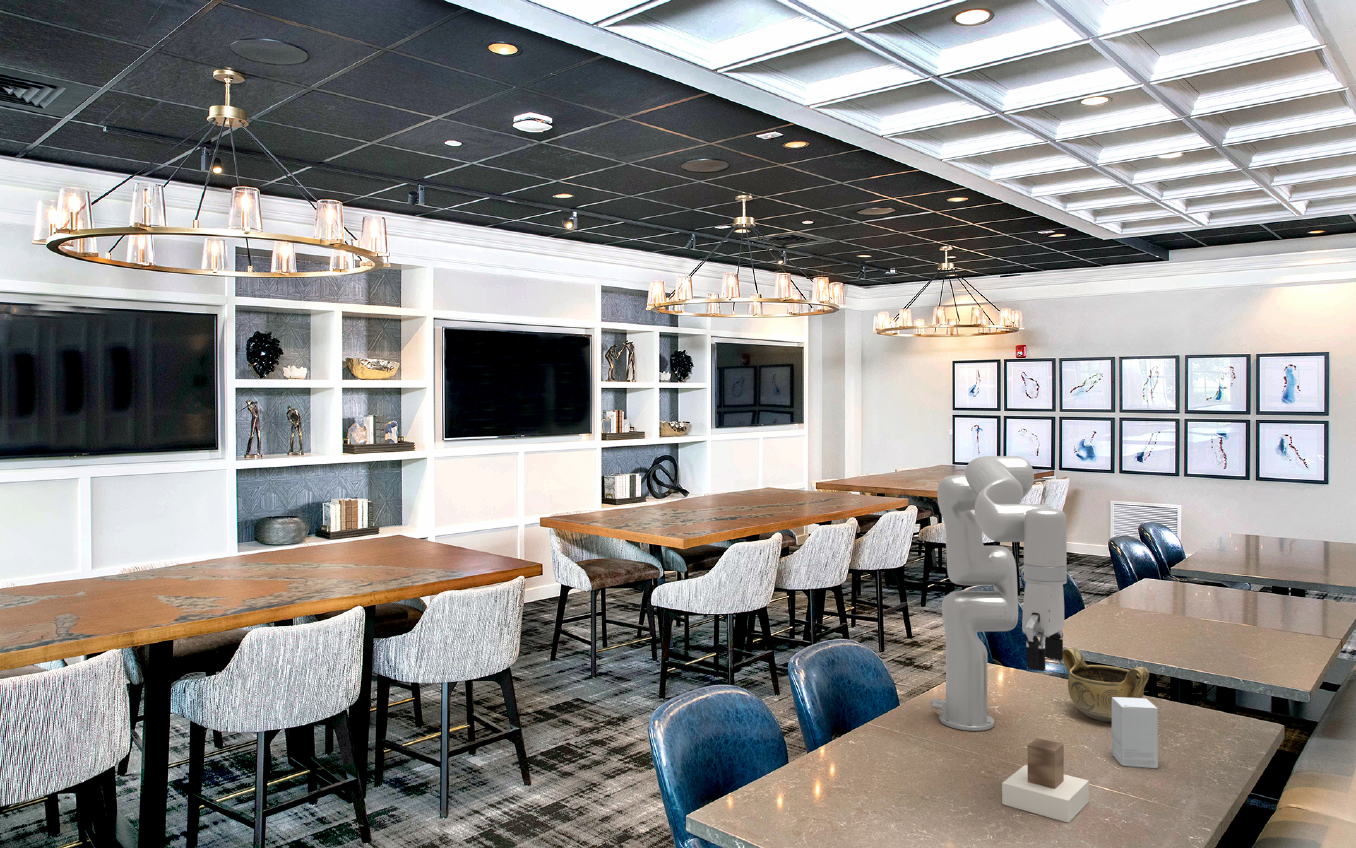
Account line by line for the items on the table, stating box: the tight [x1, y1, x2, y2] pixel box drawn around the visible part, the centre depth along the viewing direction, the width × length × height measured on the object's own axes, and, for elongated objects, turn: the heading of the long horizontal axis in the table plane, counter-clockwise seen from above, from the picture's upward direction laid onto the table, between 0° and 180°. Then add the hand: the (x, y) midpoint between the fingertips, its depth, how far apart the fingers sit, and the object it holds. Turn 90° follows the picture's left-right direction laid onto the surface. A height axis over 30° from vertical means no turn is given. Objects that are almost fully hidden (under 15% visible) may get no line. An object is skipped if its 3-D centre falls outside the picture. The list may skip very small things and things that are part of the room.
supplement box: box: [1111, 697, 1159, 769], centre depth 188 cm, size 7×7×13 cm
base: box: [1001, 764, 1090, 824], centre depth 167 cm, size 12×12×4 cm
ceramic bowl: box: [1062, 646, 1150, 723], centre depth 216 cm, size 22×17×15 cm
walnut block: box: [1027, 737, 1065, 789], centre depth 167 cm, size 5×5×7 cm
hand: (1045, 664), depth 168 cm, fingers open, 9 cm apart
